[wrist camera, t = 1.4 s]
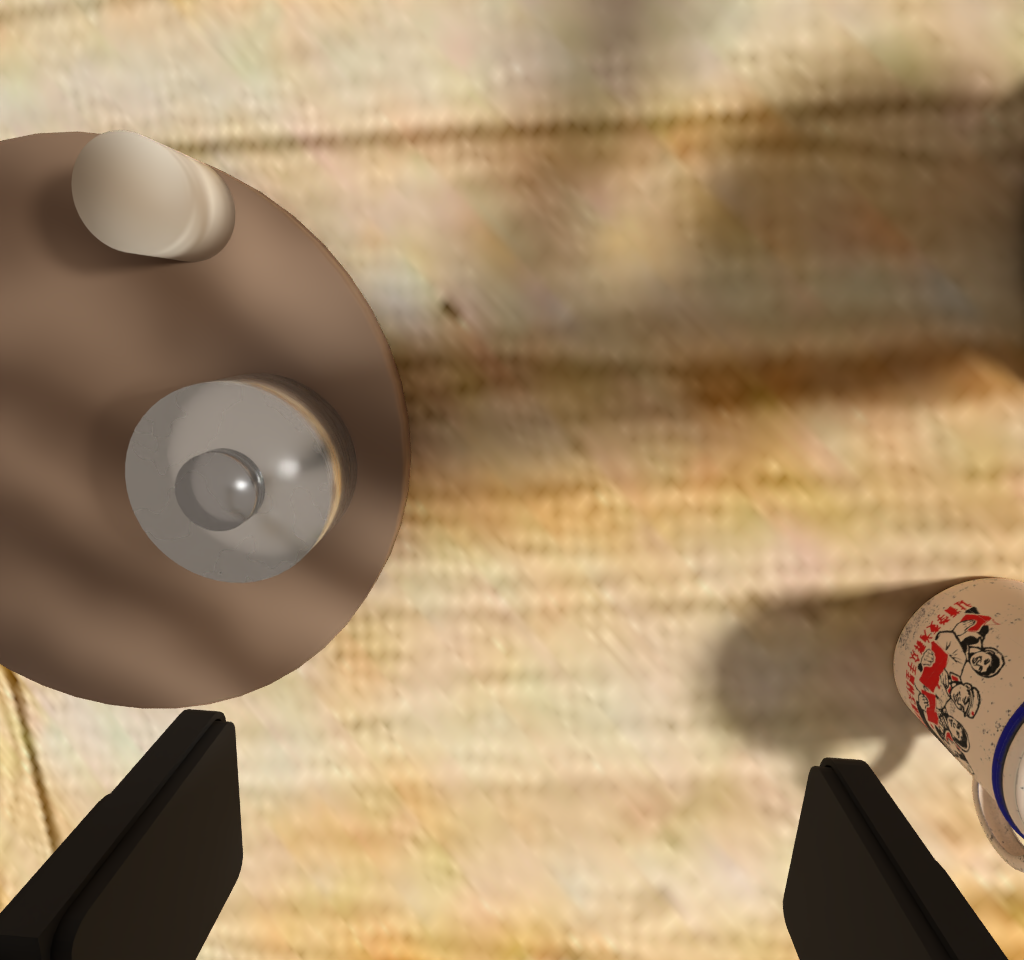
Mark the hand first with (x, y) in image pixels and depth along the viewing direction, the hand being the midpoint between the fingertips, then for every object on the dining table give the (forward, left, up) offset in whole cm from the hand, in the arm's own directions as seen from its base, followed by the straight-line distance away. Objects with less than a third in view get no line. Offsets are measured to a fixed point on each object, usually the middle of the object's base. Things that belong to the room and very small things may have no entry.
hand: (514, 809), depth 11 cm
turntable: (0, +19, -21) cm, 28 cm away
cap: (0, +12, -19) cm, 23 cm away
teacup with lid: (-9, -23, -23) cm, 34 cm away
